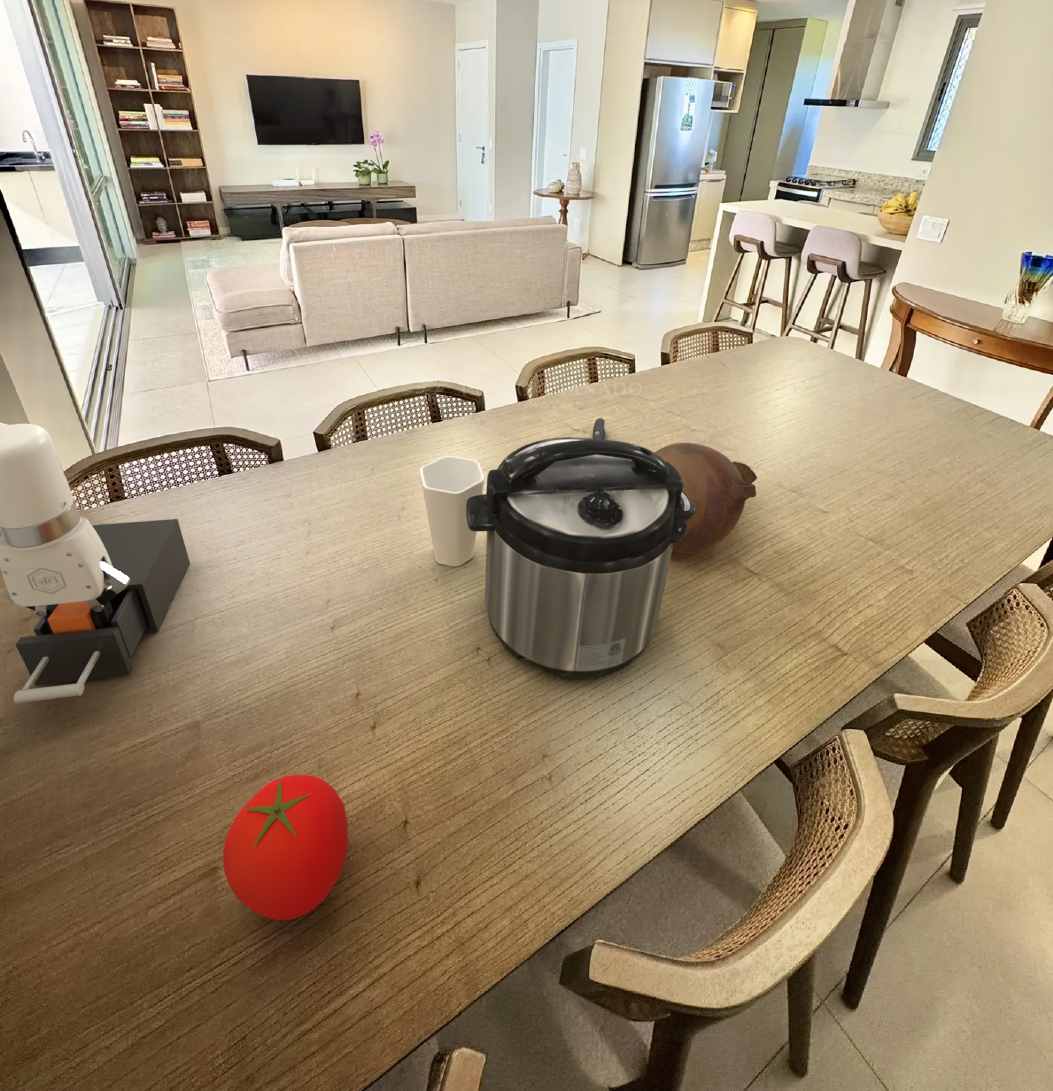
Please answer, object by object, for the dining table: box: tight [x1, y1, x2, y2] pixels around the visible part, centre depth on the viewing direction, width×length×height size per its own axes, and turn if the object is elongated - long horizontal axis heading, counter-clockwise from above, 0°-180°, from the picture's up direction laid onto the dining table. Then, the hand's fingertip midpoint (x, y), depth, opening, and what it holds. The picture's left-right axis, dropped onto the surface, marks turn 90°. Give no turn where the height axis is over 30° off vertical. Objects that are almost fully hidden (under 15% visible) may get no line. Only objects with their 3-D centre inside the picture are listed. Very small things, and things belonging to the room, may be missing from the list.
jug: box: [653, 442, 758, 554], centre depth 111 cm, size 20×20×30 cm
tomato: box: [222, 774, 349, 921], centre depth 58 cm, size 11×11×13 cm
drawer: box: [13, 589, 149, 704], centre depth 81 cm, size 20×11×8 cm, turn 10°
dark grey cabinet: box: [91, 518, 191, 635], centre depth 91 cm, size 15×13×10 cm
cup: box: [419, 455, 486, 568], centre depth 102 cm, size 11×10×17 cm
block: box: [48, 601, 96, 634], centre depth 79 cm, size 4×4×4 cm
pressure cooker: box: [466, 436, 695, 681], centre depth 87 cm, size 30×28×32 cm
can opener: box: [591, 417, 606, 440], centre depth 138 cm, size 18×7×6 cm, turn 166°
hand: (84, 627), depth 80 cm, fingers closed on block, 4 cm apart
